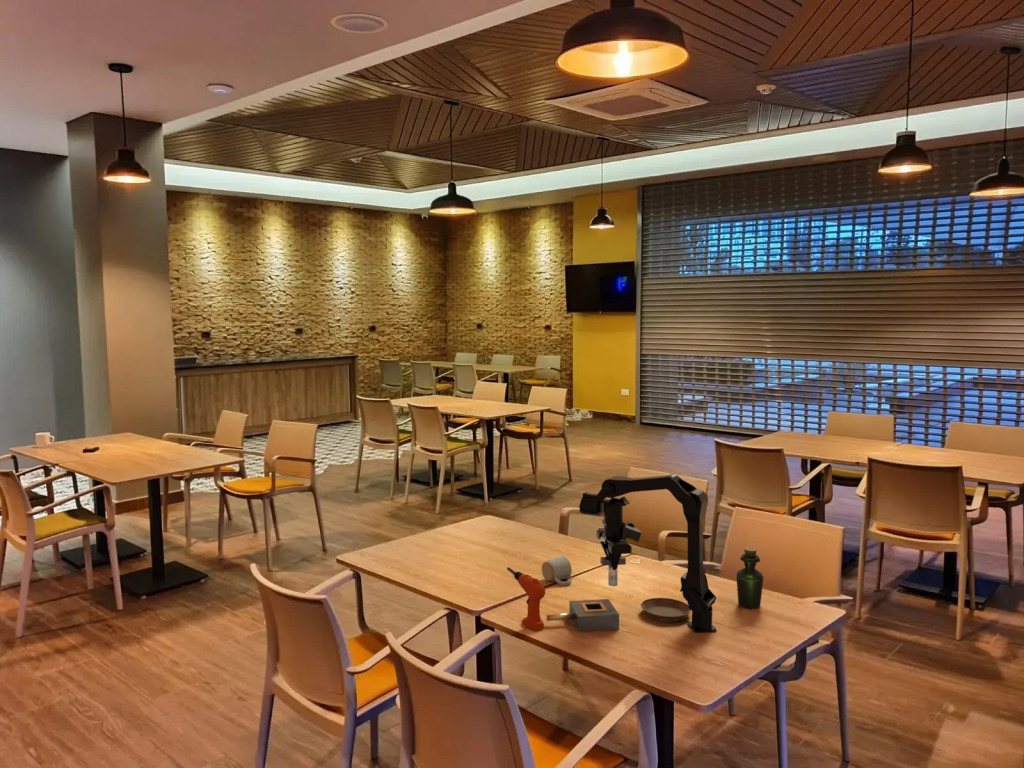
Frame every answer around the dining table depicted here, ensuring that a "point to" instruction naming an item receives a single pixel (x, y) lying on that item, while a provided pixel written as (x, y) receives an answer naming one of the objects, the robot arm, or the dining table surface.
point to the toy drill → (531, 599)
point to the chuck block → (590, 615)
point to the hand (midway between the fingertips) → (613, 568)
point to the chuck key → (612, 573)
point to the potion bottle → (749, 580)
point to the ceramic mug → (557, 570)
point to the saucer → (665, 609)
